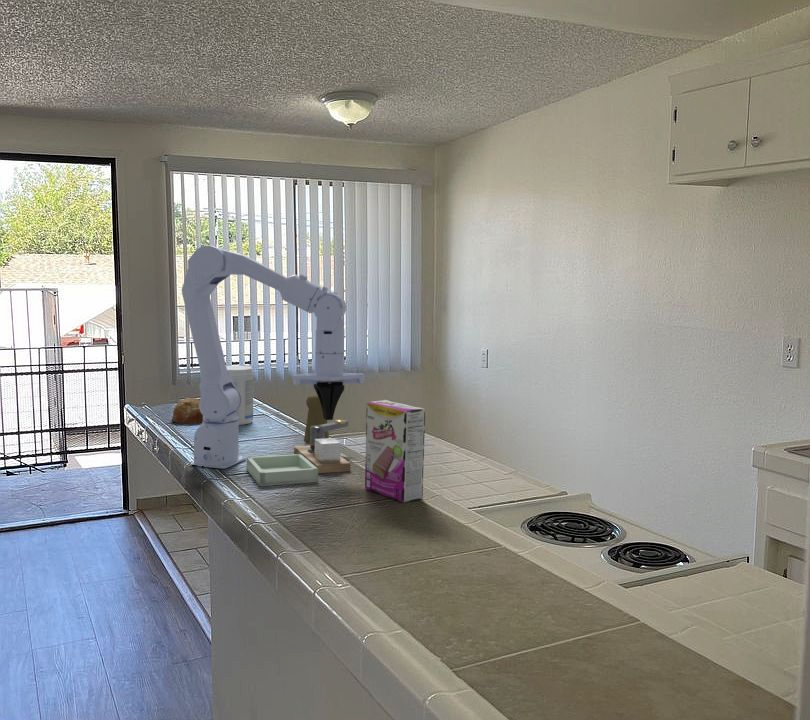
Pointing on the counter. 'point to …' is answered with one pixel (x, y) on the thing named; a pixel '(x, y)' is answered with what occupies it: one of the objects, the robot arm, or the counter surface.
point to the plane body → (326, 466)
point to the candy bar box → (395, 450)
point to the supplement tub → (243, 391)
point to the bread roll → (187, 411)
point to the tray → (281, 469)
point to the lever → (324, 430)
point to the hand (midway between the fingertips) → (328, 419)
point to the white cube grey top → (327, 450)
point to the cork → (314, 416)
